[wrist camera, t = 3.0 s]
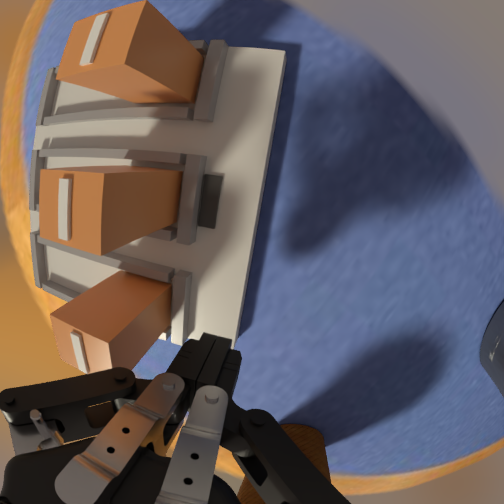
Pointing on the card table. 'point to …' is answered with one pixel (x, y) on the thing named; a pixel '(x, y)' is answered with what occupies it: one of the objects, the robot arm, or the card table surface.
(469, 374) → the card table surface
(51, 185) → the tab mid
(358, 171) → the card table surface
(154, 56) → the tab near
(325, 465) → the disposable coffee cup
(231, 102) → the switch bank
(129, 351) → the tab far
